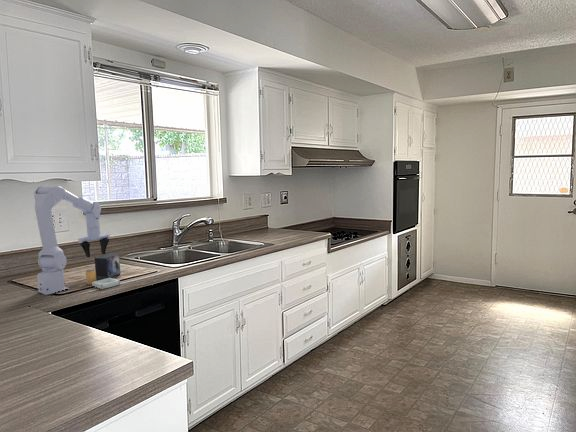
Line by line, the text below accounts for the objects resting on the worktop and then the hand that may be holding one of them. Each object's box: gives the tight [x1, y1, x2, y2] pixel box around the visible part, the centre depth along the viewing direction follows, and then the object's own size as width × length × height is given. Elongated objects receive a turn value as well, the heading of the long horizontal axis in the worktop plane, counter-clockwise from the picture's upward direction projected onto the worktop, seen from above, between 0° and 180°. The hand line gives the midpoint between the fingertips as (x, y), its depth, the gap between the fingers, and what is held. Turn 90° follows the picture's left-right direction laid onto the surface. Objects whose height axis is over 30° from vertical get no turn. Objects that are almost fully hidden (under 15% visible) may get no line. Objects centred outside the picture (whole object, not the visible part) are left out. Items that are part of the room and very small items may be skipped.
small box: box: [94, 252, 121, 281], centre depth 202 cm, size 11×6×10 cm, turn 168°
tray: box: [91, 278, 121, 290], centre depth 189 cm, size 8×8×2 cm
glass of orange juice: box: [85, 268, 97, 285], centre depth 193 cm, size 4×4×6 cm
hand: (95, 255), depth 208 cm, fingers open, 7 cm apart
